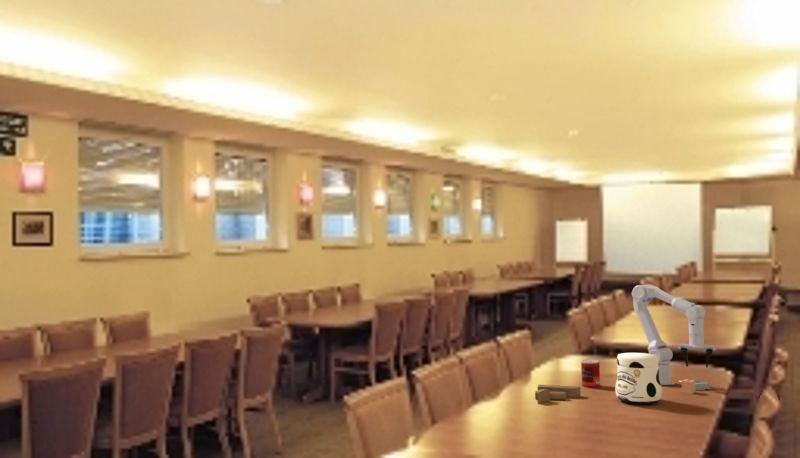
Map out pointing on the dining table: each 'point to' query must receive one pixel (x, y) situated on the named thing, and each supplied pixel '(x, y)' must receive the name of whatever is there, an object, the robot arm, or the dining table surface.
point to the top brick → (688, 386)
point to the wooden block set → (556, 392)
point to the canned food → (590, 373)
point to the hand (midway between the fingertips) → (697, 366)
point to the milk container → (638, 378)
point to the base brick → (701, 385)
